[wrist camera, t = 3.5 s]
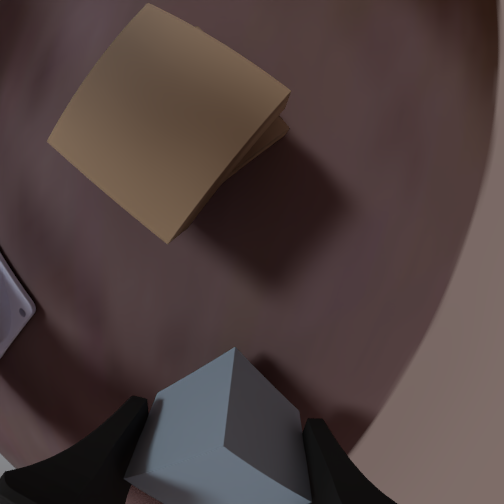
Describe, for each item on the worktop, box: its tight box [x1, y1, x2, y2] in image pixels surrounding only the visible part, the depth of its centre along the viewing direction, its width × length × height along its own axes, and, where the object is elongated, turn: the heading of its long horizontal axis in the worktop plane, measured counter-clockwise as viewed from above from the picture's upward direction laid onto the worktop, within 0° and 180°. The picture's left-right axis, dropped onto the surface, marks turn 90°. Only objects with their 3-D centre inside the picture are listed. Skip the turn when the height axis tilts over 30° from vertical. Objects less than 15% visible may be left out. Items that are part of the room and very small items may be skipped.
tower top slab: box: [47, 3, 291, 244], centre depth 8 cm, size 5×5×2 cm
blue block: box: [124, 347, 312, 504], centre depth 10 cm, size 4×4×5 cm
